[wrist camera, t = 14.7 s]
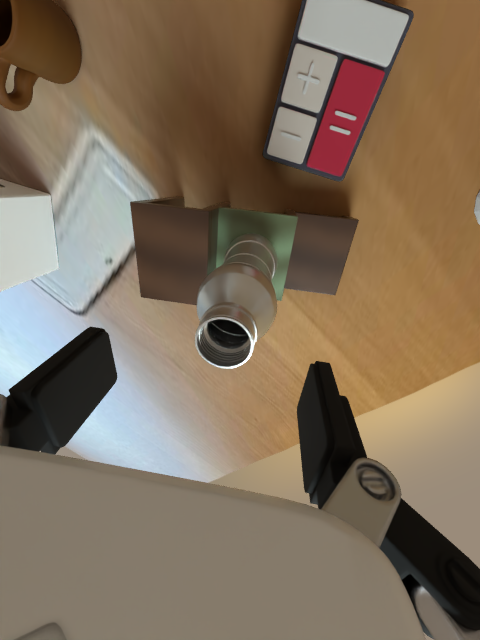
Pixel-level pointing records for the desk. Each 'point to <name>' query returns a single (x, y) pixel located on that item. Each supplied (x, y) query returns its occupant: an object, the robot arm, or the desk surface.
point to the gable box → (25, 235)
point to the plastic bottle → (237, 302)
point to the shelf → (217, 234)
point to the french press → (477, 208)
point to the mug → (35, 48)
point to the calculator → (333, 82)
